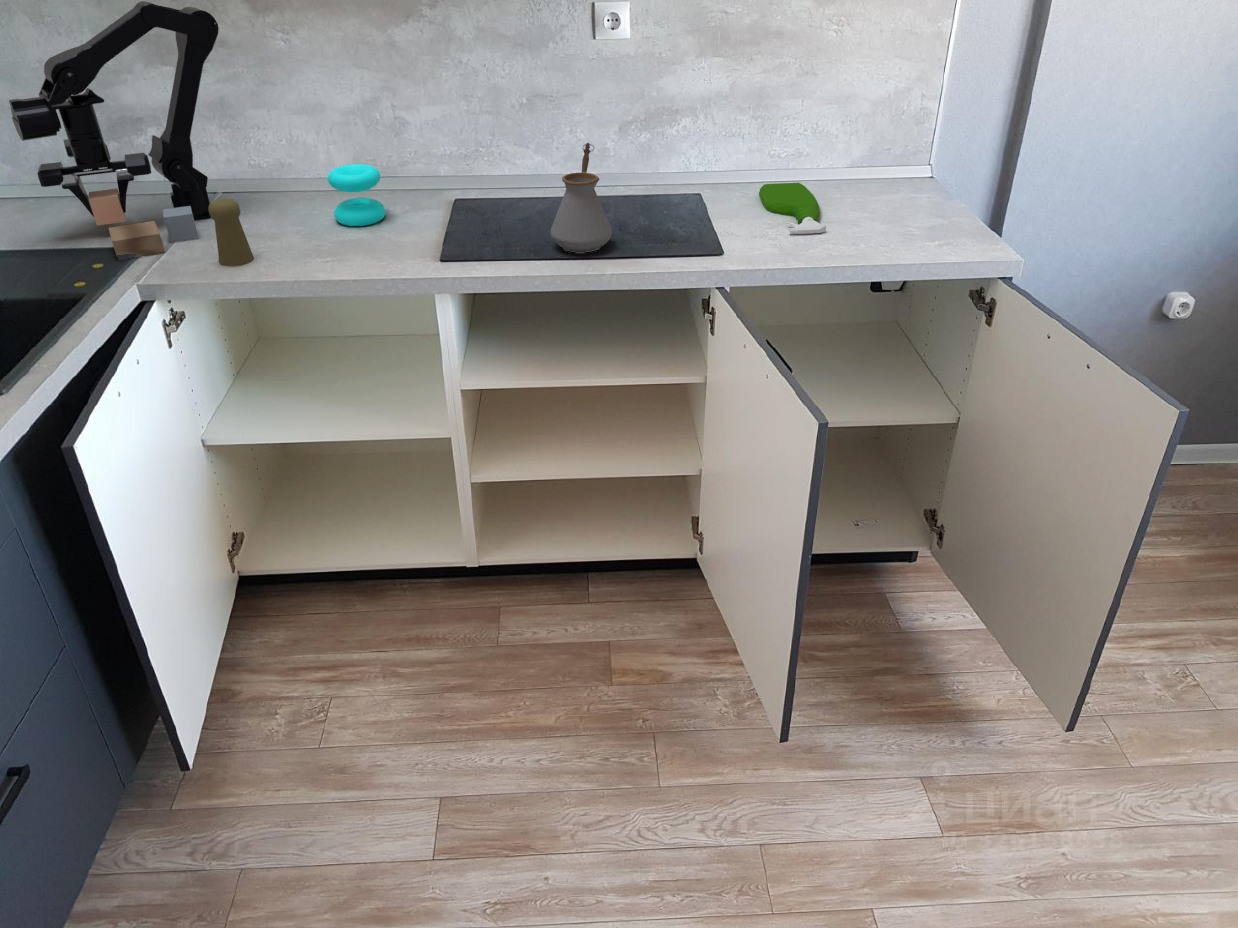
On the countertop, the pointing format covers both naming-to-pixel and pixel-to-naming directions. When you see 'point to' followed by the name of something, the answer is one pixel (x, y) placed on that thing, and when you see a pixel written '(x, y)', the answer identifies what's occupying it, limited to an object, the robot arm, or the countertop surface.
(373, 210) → the donuts
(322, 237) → the countertop surface
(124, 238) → the walnut base block
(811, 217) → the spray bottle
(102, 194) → the terracotta cube
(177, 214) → the slate grey cube
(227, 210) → the olive pawn
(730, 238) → the countertop surface
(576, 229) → the coffee pot
